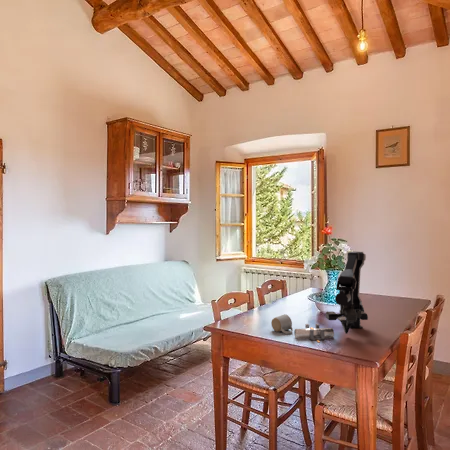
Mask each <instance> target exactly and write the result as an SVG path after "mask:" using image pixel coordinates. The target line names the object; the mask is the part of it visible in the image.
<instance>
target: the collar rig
mask: <svg viewBox="0 0 450 450" xmlns="http://www.w3.org/2000/svg"><path fill="white" fill-rule="evenodd" d="M315 328H320V323H315ZM304 329H310V323H305V328H304ZM313 329H314V328H313ZM313 329H310V339H309V341H311V342H312V341H313V342H315V341H316V342H317V343H321V341H325V338H324V329H320V338H314V330H313Z"/></svg>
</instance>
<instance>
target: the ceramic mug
mask: <svg viewBox="0 0 450 450" xmlns="http://www.w3.org/2000/svg"><path fill="white" fill-rule="evenodd" d="M271 328H272V330H274V332H276V333H280V332H282V333H283V334H285V335H291V334H292V333H293V331H294V330H293V322H292V319H291V317H290V316H289V314H281V315H279V316H276V317H273V318H272V320H271ZM289 330H290V331H289Z"/></svg>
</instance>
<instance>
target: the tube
mask: <svg viewBox="0 0 450 450" xmlns="http://www.w3.org/2000/svg"><path fill="white" fill-rule="evenodd" d="M310 329H313V330H314V338H320V329H324V339H332V338H334V336H335V332H334V331H335V330H334V329H333V327H326V328H325V327H323V328H321V327H319V328H316V327H315V328H314V327H309V329H305V328H294V330H293V331H294V332H293V333H294V334H293V335H294V338H295V339H297V340H303V339H305V340H307V339H309V340H310Z"/></svg>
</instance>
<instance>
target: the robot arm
mask: <svg viewBox="0 0 450 450" xmlns="http://www.w3.org/2000/svg"><path fill="white" fill-rule="evenodd" d="M346 256H347V260H346V264H345V266H344V267H345V268H344V270H343V271H342V272H340V274H339V276H338V277H337V282H336V288H335V289H336V290H337V291H338V294H336V295H335V303H336V304H337V305H339V306H340V308H339V313H336V312H335V311H326V313H325V318H326V320H328V321H337V320H338V321H339V322H340V323H341V325H342V328H343V332H344V334H345V335H346V334H348V333H349V331H350V329H363V328H364V326H362V325H361V321H368V320H369V315H368V313H366V312H365V308H364V305H363V302H362V300H361V297H360V284H361V272H362V271H361V269H362V268H363V266H364V265H365V261H366V258H367V255H366V254H365V252H364V251H352V250H351V251H349V252H347V255H346Z"/></svg>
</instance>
